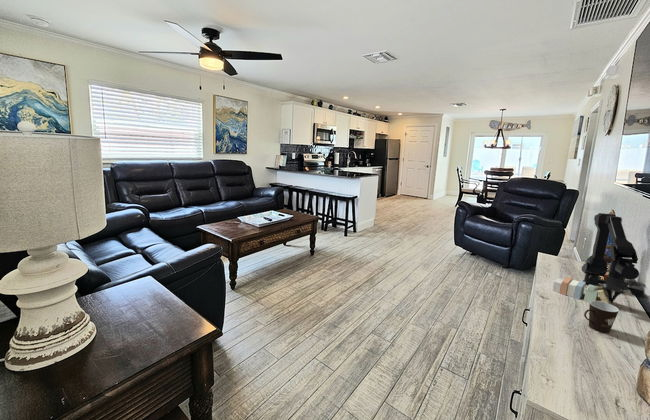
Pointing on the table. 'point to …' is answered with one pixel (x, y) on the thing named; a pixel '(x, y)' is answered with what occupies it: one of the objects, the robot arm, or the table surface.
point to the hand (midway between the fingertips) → (611, 302)
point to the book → (591, 293)
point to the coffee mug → (601, 316)
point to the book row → (569, 287)
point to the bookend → (603, 295)
